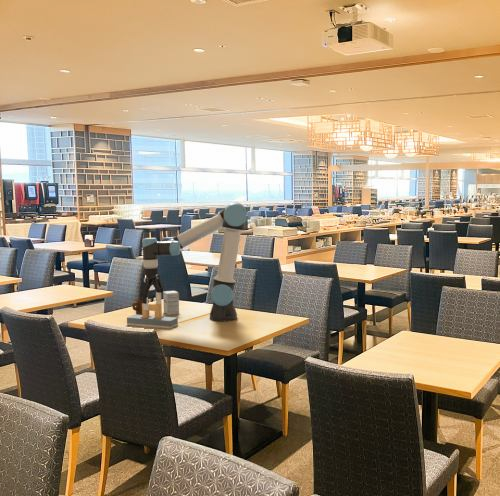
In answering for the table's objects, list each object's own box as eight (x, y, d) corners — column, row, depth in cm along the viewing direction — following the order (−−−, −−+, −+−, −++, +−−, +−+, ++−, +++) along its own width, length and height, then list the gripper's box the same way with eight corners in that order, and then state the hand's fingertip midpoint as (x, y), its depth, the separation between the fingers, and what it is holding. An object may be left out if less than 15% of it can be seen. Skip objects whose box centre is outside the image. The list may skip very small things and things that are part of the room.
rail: (177, 325, 301) (177, 317, 301) (170, 328, 294) (170, 320, 293) (135, 321, 310) (134, 314, 310) (127, 324, 303) (126, 317, 302)
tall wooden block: (161, 323, 301) (161, 303, 300) (159, 324, 299) (158, 304, 298) (145, 321, 305) (144, 302, 304) (142, 323, 302) (141, 303, 301)
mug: (138, 319, 316) (138, 302, 315) (127, 318, 319) (127, 301, 318) (152, 315, 326) (151, 298, 325) (141, 313, 330) (141, 297, 329)
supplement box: (163, 312, 332) (162, 291, 331) (175, 311, 335) (175, 290, 334) (167, 315, 325) (166, 293, 324) (179, 313, 328) (179, 292, 327)
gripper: (156, 264, 312) (158, 302, 314) (131, 270, 288) (133, 311, 290) (168, 264, 309) (170, 302, 311) (144, 270, 286) (146, 312, 288)
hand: (152, 307), depth 301 cm, fingers open, 13 cm apart
